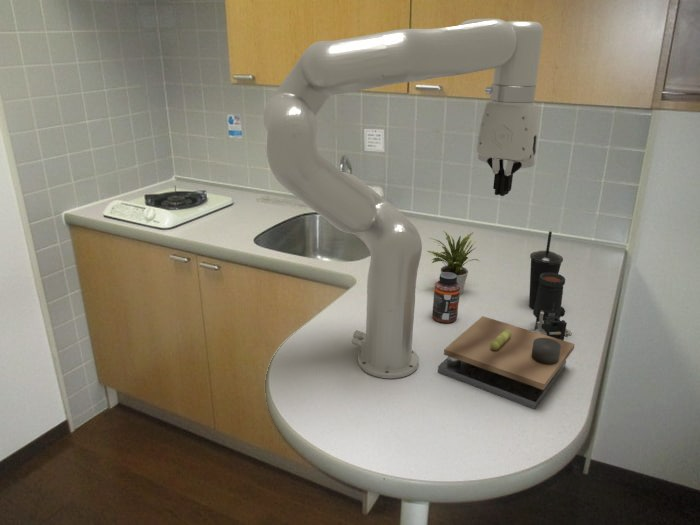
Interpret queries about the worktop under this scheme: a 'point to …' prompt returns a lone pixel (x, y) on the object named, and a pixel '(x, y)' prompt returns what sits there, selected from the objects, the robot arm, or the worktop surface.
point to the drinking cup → (542, 268)
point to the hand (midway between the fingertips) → (501, 193)
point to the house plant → (455, 258)
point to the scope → (550, 307)
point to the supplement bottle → (446, 298)
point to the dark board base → (496, 382)
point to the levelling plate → (511, 351)
